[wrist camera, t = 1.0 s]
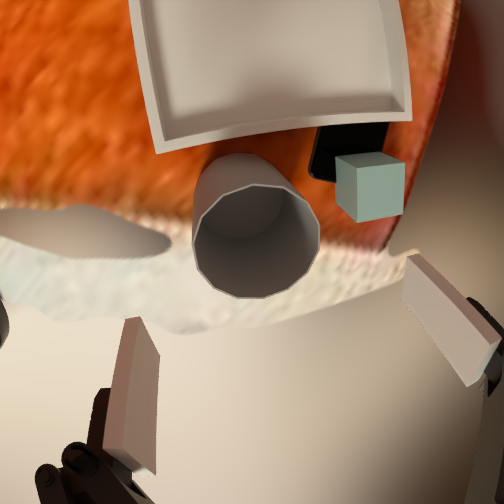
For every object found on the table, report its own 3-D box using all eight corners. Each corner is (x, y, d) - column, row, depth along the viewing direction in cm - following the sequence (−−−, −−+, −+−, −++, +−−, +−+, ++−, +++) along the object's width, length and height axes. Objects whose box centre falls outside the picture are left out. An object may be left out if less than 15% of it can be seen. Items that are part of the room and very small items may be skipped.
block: (335, 203, 30) (357, 222, 26) (333, 155, 28) (356, 168, 23) (377, 196, 31) (402, 214, 26) (377, 150, 28) (404, 162, 24)
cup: (269, 140, 26) (305, 165, 18) (293, 219, 30) (330, 273, 22) (180, 173, 26) (170, 214, 18) (212, 248, 30) (220, 313, 22)
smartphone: (367, 189, 30) (400, 58, 24) (371, 192, 30) (405, 58, 23) (303, 175, 29) (338, 31, 22) (306, 178, 28) (341, 29, 21)
